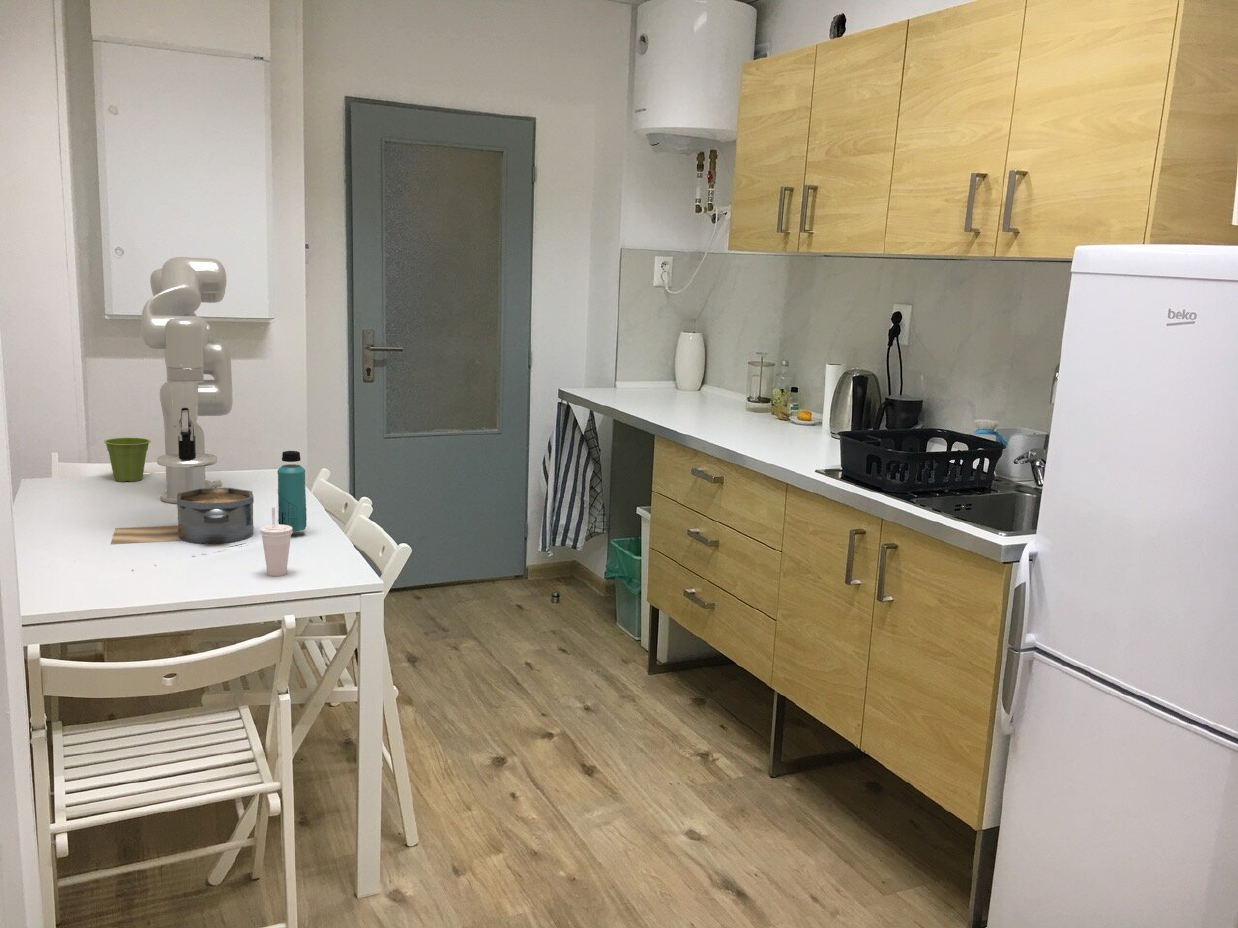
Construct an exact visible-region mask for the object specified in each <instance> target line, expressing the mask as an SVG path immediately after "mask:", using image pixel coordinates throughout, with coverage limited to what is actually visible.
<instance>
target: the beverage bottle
mask: <svg viewBox="0 0 1238 928" xmlns="http://www.w3.org/2000/svg"><path fill="white" fill-rule="evenodd" d="M301 459H302V458H301V452H300V451H297V450H285V451H282V453H281V461H282V462H286V463H291V464H283V465H281V466H280V467H279V468H278V469H277V492H276V493H277V498H278V499H277V502H278V503H277V508H278V509H277V524H280V525H288V526H291V527H292V531H293V533H295V532H300V531H305V530H306V528H307V526H308V525H307V523H308V521H307V520H308V519H307V499H306V498H307V494H306V469H305V468H304V467H303V466H302V465H300V464H293V463H295V462H296V463H298V462H301Z"/></svg>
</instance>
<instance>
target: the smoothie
mask: <svg viewBox="0 0 1238 928" xmlns="http://www.w3.org/2000/svg"><path fill="white" fill-rule="evenodd" d="M259 529H260V530H259V531H260V532H259V534H260V535H261V538H262V544H263V546H262V547H263V553H264V561H265V566H266V573H267V575H268V576H269V577H282V576H285V575H286V574H287V571H288V563H289V562H288V561H289V554H290V546H291V537H292V534H293V533H294V532H293V531H292V527H291V526H288V525H280V524H279V523H277V524H276V507H275V506H272V507H271V524H268V525H264V526H262V527H260V528H259Z"/></svg>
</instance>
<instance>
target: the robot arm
mask: <svg viewBox="0 0 1238 928" xmlns="http://www.w3.org/2000/svg"><path fill="white" fill-rule="evenodd" d="M149 280H150V281H149V282H150V289H151V293H152V297H151V298H148V300H147V301H146V302H145V304H144V306H143V308H142V312H141V324H140V326H141V328H140V329H141V336H142V340H143V343H144V345H145V346H146V347H148V348H150V349H155V350H156V349H157V350H163V351H164V363H165V367H166V382H164V383H163V384H162V385H161V387H160V388H159V401H160V406H161V410H162V417H163V427H164V443H165V444H164V446H165V447H164V448H165V449H164V450H165V455H168V454H176V453H179V458H180V459H194V458H195V443H194V441H193V435H195V436H196V453H205V452H206V451H205V450H206V449H205V433H204V430H203V427H202V426H201V425H199V423H198V417H216V416H217V417H220V416H226V415H228V414H230V412H231V411H232V409H233V401H234V399H233V382H232V381H233V380H232V378H233V377H232V373H233V372H232V357H231V356H232V355H231V351H230V350H231V349H230V346H229V344H228V343H227V342H226V340H223V339H221V338H218V337H217V338H216V337H211V335H212V331H211V326H210V324H208V322H207V320H206V319H205V318H203V317H201V316H197V313H195V312H196V311H197V310H198V309H199V308H200V306H201V303H206V304H210V303H213V304H215V303H220V302H221V301H222V300H223V299H224V297H225V295H226V288H227V272H226V269H225V267H224V265H223V264H222V263H221V261H219V260H218V259H216V258H209V257H208V258H207V257H191V256H190V257H187V256H185V257H184V256H176V257H172V258H169V259H167V260H166V261H165V262H164V263H163V265H162V267H161V268H158V269H155V270H153V271H152V272H151V274H150V279H149ZM204 375H210V376H212V377H213V379H204V378H205V377H204ZM178 436H180V441H179V451H178ZM205 454H206V453H205ZM165 474H166V475H165V477H166V491H165V492H162V493H161V494H160V495H159V496H160V500H161V501H162V502H165V503H169V504H177V494H178V493H183V492H187V491H191V490H196V489H203V488H222V486H223V483H222V481H221V480H220V479H218V480H213V481H212V480H209V479H206V466H202V467H189V468H178V467H166V466H165Z"/></svg>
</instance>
